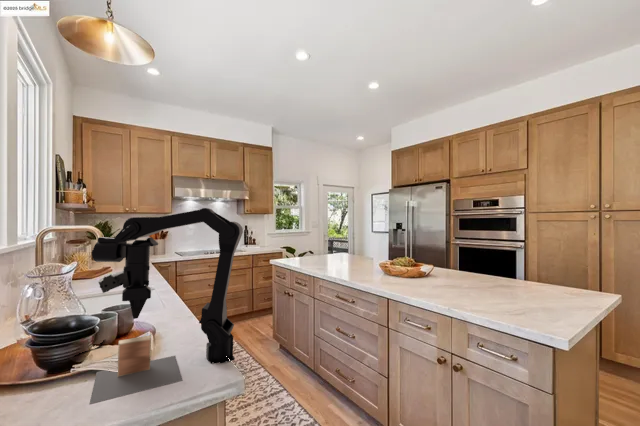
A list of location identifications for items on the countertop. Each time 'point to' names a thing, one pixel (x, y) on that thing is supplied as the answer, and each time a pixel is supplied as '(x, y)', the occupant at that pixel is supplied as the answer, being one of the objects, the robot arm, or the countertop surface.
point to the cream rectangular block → (134, 355)
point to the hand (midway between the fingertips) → (135, 318)
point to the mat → (135, 380)
